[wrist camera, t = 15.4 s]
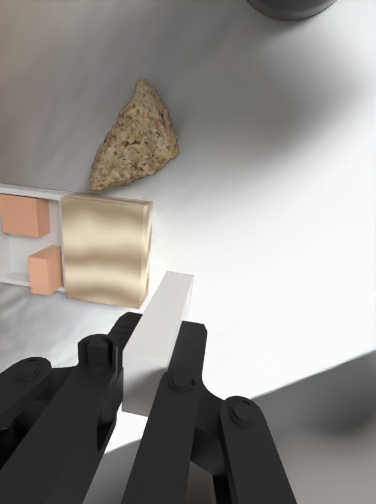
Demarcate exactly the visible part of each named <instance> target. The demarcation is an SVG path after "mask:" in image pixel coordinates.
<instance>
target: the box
mask: <svg viewBox="0 0 376 504" xmlns="http://www.w3.org/2000/svg"><path fill="white" fill-rule="evenodd" d="M0 193H6V194H14V195H22V196H30V197H38V198H46V199H48V202H49V218H50V233H48V234H46V235H44V236H41V237H32V236H25V235H18V234H12V233H5V232H3V228H2V220H1V212H0V282H4V283H10V284H17V285H23V286H29V287H31V286H30V277H29V267H28V258H27V257H28V256H30V255H32V254H34V253H36V252H38V251H40V250H42V249H44V248H46V247H49V246H51V245H56V246H61V249H62V266H63V282H64V285H63V286H61V287H60V288H59V289H58V290H56V291H61V292H66V280H65V262H64V245H63V228H62V210H61V197H63V196H67V195H72V194H76V192H68V191H59V190H51V189H43V188H35V187H26V186H18V185H10V184H2V183H0Z"/></svg>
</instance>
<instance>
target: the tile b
mask: <svg viewBox="0 0 376 504" xmlns="http://www.w3.org/2000/svg"><path fill="white" fill-rule="evenodd" d="M27 258H28V267H29V277H30V286H31V293H35V294H41V295H48V296H50V295H51V294H52V293H54V292H55V291H56V290H58V289H59V288H60V287H61V286H63V285H64V282H63V266H62V249H61V246H56V245H51V246H49V247H46V248H44V249H42V250H40V251H38V252H36V253H34V254H32V255H30V256H28V257H27Z"/></svg>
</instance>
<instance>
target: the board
mask: <svg viewBox="0 0 376 504" xmlns="http://www.w3.org/2000/svg"><path fill="white" fill-rule="evenodd" d="M61 210H62V228H63V245H64V262H65V280H66V297H67V298H73V299H79V300H86V301H92V302H98V303H104V304H111V305H117V306H123V307H129V308H136V309H140V307H141V305H142V303H143V302H144V300H145V298H146V297H147V295H148V283H149V265H150V247H151V229H152V211H153V202H150V201H142V200H134V199H125V198H117V197H109V196H101V195H92V194H84V193H76V194H72V195H67V196H63V197H61Z"/></svg>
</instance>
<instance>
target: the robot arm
mask: <svg viewBox="0 0 376 504" xmlns="http://www.w3.org/2000/svg"><path fill="white" fill-rule="evenodd" d="M248 1H249V2H250V4H251V5H252V6H253V7H255V8H256V9H257V10H258V11H260V12H261V13H263V14H265V15H267V16H269V17H271V18H274V19H279V20H288V21H291V20H300V19H304V18H307V17H310V16H313V15H315V14H317V13H319V12H321V11H323V10H324V9H326V8H327V7H329V6H330V5H332V4H333V3H334V2H335V1H336V0H248ZM193 277H194V275H190V274H183V273H177V272H171V271H167V272H166V274H165V276H164V277H163V279H162V281H161V283H160V285H159V286H158V288H157V290H156V292H155V294H154V295H153V297H152V299H151V301H150V303H149V305H148V306H147V308H146V310H145V312H144V314H138V313H133V312H127V313H125V314H124V315H122V316H121V317H119V319H118V320H117V322H116V323H115V325H114V326H113V327H112V329H111V330H110V332H109V333H108V335H106V334H94V335H90V336H87V337H85V338H83V339H82V340H81V341H80V342H78V360H79V363H78V364H77V366H73V367H64V368H52V367H51V363H50V361H48V360H47V359H46V358H42V357H30V358H26V359H23V360H21V361H19V362H17V363H15V364H13V365H12V366H11V367H9V368H8V369H6V370H5V371H3V372H2V373H0V504H82V503H83V501H84V499H85V496H86V494H87V491H88V489H89V487H90V485H91V482H92V480H93V477H94V475H95V473H96V470H97V468H98V466H99V463H100V461H101V459H102V456H103V454H104V452H105V449H106V447H107V445H108V442H109V440H110V438H111V435H112V433H113V430H114V428H115V425H116V421H117V411H118V409H119V407H120V404H121V402H122V411H123V412H128V413H132V414H137V415H142V416H146V417H148V420H147V423H146V426H145V430H144V433H143V436H142V439H141V442H140V445H139V449H138V451H137V455H136V458H135V461H134V464H133V467H132V470H131V473H130V477H129V480H128V483H127V486H126V489H125V492H124V496H123V499H122V502H121V504H184V503H185V495H186V488H187V481H188V473H189V466H190V461H192V462H193V463H195V464H197V465H198V466H200V467H201V468H203V469H204V470H206V471H207V472H208V473H209V481H210V488H211V495H212V503H213V504H297V503H296V500H295V497H294V494H293V492H292V489H291V486H290V484H289V481H288V478H287V476H286V473H285V470H284V468H283V465H282V462H281V460H280V457H279V455H278V452H277V449H276V447H275V444H274V441H273V438H272V436H271V433H270V430H269V428H268V425H267V423H266V420H265V417H264V415H263V413H262V411H261V409H260V408H259V407H258V406H257V405H256V404H255V403H254V402H253V401H251V400H249V399H247V398H245V397H241V396H232V397H228V398H227V399H225V400H222V399H220V398H218V397H217V396H215V395H213V394H212V393H211V392H209V391H208V390H207V389H206V387H205V385H204V384H203V381H202V370H203V362H204V355H205V347H206V340H207V330H206V328H205V326H204V324H200V323H194V322H188V318H189V310H190V302H191V294H192V285H193Z"/></svg>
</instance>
